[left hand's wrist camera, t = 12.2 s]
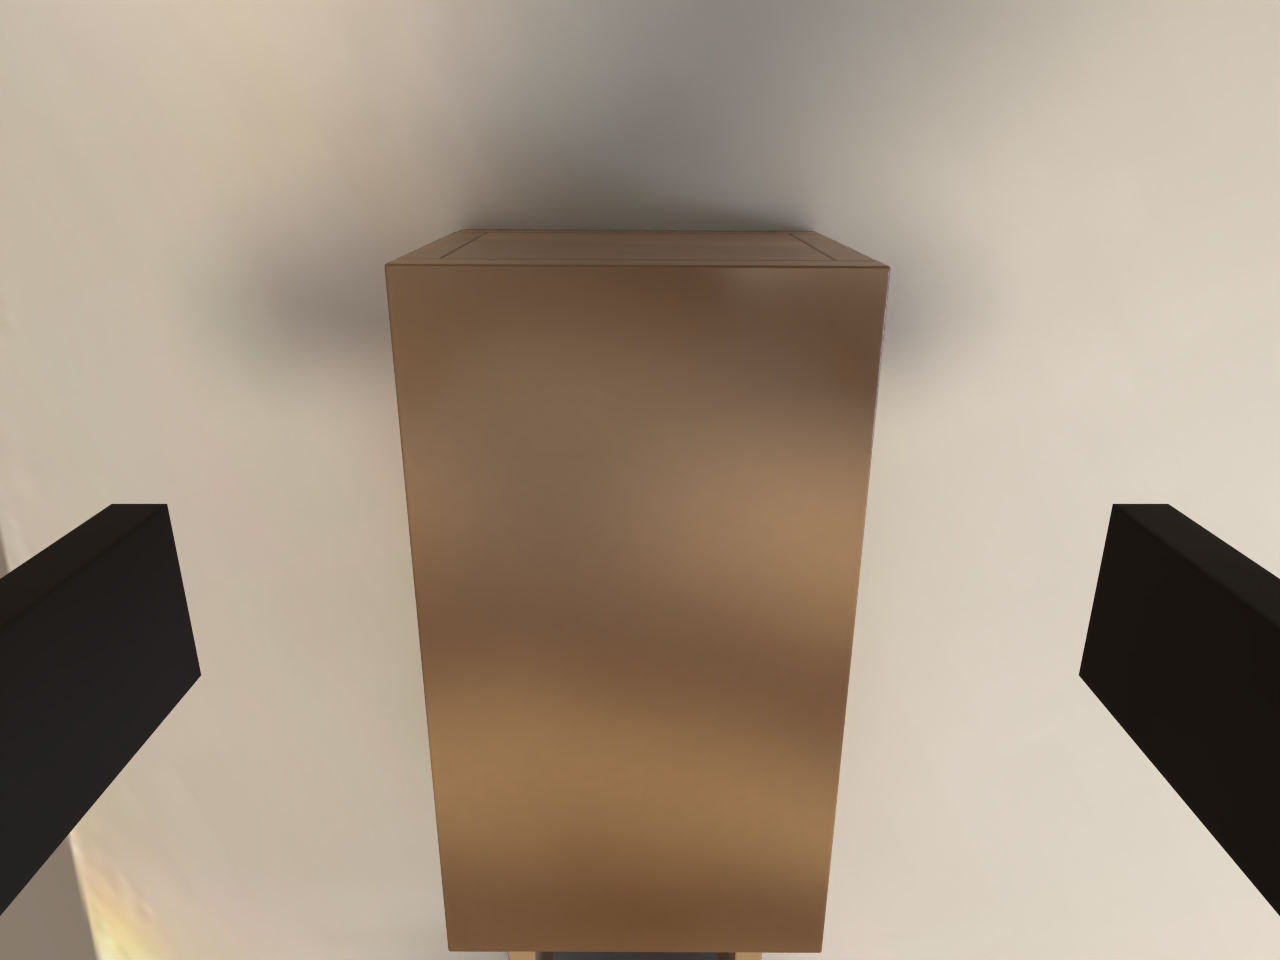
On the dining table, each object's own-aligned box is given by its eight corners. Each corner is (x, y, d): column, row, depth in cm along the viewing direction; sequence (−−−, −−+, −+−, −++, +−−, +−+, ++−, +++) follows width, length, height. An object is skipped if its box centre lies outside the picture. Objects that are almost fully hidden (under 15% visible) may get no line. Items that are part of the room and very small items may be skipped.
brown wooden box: (778, 763, 32) (822, 953, 25) (493, 762, 32) (447, 952, 25) (817, 231, 26) (891, 266, 18) (459, 229, 26) (383, 263, 18)
